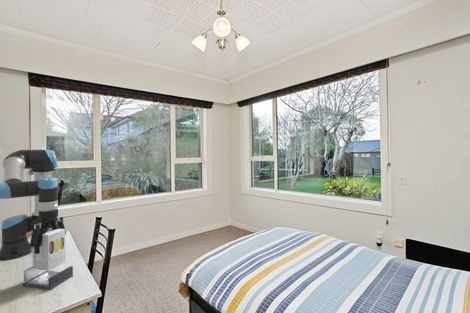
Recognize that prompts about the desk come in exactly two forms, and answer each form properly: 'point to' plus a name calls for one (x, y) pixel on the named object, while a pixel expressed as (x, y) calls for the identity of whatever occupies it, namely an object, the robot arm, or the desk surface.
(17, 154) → the robot arm
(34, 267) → the supplement box
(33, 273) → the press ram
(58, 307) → the desk surface
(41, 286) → the press bed
